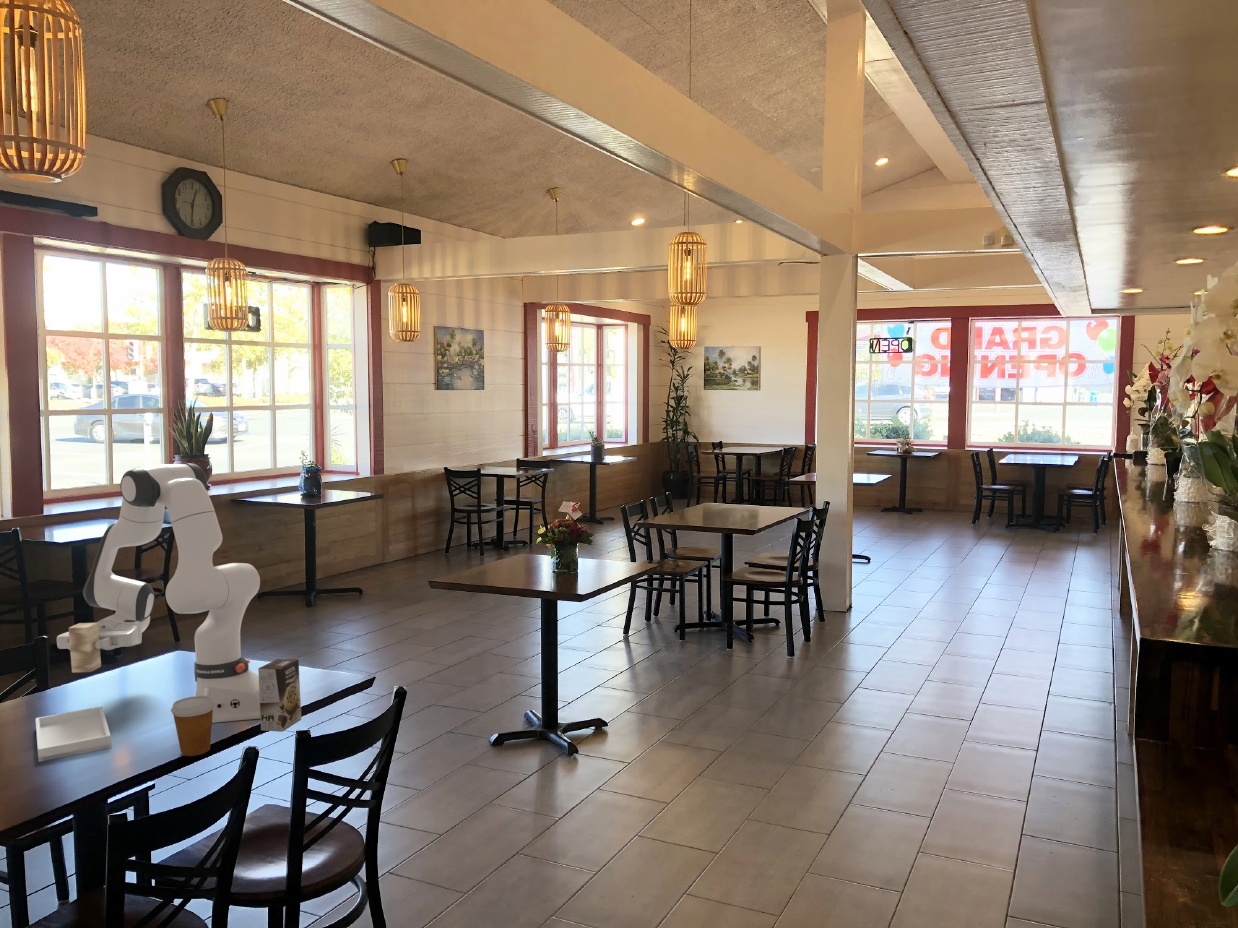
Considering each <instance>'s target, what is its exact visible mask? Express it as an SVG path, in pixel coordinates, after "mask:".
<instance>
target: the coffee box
mask: <svg viewBox="0 0 1238 928" xmlns="http://www.w3.org/2000/svg"><path fill="white" fill-rule="evenodd" d="M257 671H258V676H259V695H260V717H261V718H260V730H261V731H266V732H278V733H282V732H285V731H286V730H287V729H289V728H291V727H292V726H294V725H295V724H297V723H299V722H300V721H302V705H301V702H302V701H301V686H300V685H301V683H300V665H299V659H296V658H277V659H275V660H272V661H271V662H268V663H266V664H264V665H262V666H261V667H258V669H257Z"/></svg>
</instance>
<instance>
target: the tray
mask: <svg viewBox="0 0 1238 928" xmlns="http://www.w3.org/2000/svg"><path fill="white" fill-rule="evenodd" d="M35 728H36V743H37V744H36V745H37V746H36V747H37V756H38V762H39V763H41V762H46V761H51V759H52V760H57V759H60V758H66V757H73V756H75V755H80V754H86V753H91V752H96V751H102V750H106V749H110V748H112V738H111V732H110V728H109V725H108V721H107V719H106V715H105V711H104V708H103V706H96V707H91V708H84V709H79V710H73V711H67V712H62V713H61V712H60V713H57V714H52V715H51V714H50V715H45V716H39V717H36V718H35Z"/></svg>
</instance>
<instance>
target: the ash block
mask: <svg viewBox="0 0 1238 928" xmlns="http://www.w3.org/2000/svg"><path fill="white" fill-rule="evenodd" d="M68 632H69V640H70V650H69V653H70V664H71V673H73V674H75V673H92V672H93V671H96V670H97V669H99V668H101V667H102V660H101V659H102V658H101V648H99V649H93V645H92V644H93V642H95V641H99V631H98V623H97V622H79V623H77V624H74V625H72V626H70V627H68Z"/></svg>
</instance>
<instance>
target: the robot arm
mask: <svg viewBox="0 0 1238 928" xmlns="http://www.w3.org/2000/svg"><path fill="white" fill-rule="evenodd" d="M119 485H120V486H119V487H120V494H121V496H122V500H121V506H120V511H119V512H120V513H119V517H118V520H117V521H116V522H115V523H111V524H110V525H108V527H107V528H106V530H105V532H104V534H103V536H102V538H101V541H100V543H99V546H98V549H97V552H96V556H95V558H94V562H93V565H92V568H91V570H90V573H89V575H88V578H87V580H86V582H85V584H84V587H83V591H82V595H83V596H82V597H83V598H84V600H85V601H86V603H87V605H89V606H91V607H95V608H101V609H108V610H112V611H115V613H113V614H111V615H109V616H107V617H105V618H102V619H100V620H98V621H97V622H96V623H98V631H99V641H95V642H93V644H92V645H93V649H99V648H100V650H105V651H111V650H115V649H117V648H118V649H119V648H121V647H122V648H123V647H125V648H126V647H127V648H128V647H133V646H136V645H137V646H138V645H140V644H142V637H143V632H145V630H147V628H148V627H149V625H150V622H151V614H152V613H153V610H154V607H155V602H156V595H155V591H154V589H153V586H152V585H151V584H150V583H148V582H145V581H140V580H136V579H133V578H132V579H131V578H129V577H124V576H119V575H117V574H115V573H114V572H113V571H112V569H113V565H114V564H115V559H116V557H117V553H118V550H119V549H120V548H125V547H137V546H142V545H145V544H148V543H150V542H152V541H154V540H155V539H157V538H158V536H160V534H161V532H162V530H163V529H162V528H163V525H164V519H165V518H164V517H165V509H167V511H168V516H169V519H170V525H171V526H172V530H173V534H174V538H175V542H176V546H177V552H178V560H177V567H176V569H175V572H174V575H173V576H172V577H171V579H170V580H169V581H168V583H167V585H166V588H165V599H166V603H167V605H168V606H169V608H170V609H171V610H172V611H173V612H174V613H176V614H179V615H180V614H181V615H183V614H186V615H187V614H188V615H189V614H190V615H191V614H199V613H200V614H201V613H203V612H208V611H209V612H208V615H207V616H206V619H205V620H204V621H203V623H202V624H200V625H199V627H198V628H196V630H195V633H194V649H195V662H194V663H193V665H194V666H193V667H194V670H193V671H194V679H195V682H196V687H195V688H196V689H195V696H208V697H211V698H212V699H213V702H214V703H215V706H214V708H213V715H212V724H214V723H222V722H223V723H224V722H235V721H246V720H256V719H257V720H258V719H261V717H260V695H259V674H256V673H255V672H253V671H251V669H249V667H250V666H249V663H251V658H250V657H248V658H247V659H246V658H245V657H243V656H242V654H241V653H242V652H241V651H242V649H241V630H242V629H241V627H242V622H243V618H244V616H245V613H246V610H247V608H248V606H249V604H250V602H251V600H252V599H253V598H254V597H255V596H256V595H257V594H258V593H259V590H260V585H261V578H260V574H259V572H258V570H257V569H256V567H254V565H252V564H250V563H246V562H231V563H226V564H221V565H216V566H215V565H214V562H213V557H214V553H215V552H216V551H217V550H218V549H219V548H220V547H221V545H222V543H223V538H224V537H223V534H222V529H221V527H220V524H219V520H218V517H217V514H216V511H215V507H214V505H213V502H212V500H211V497H210V496H209V493H208V491H207V485H208V484H207V476H206V474H205V471H204V470H203V468H202V467H201V466H200V465H198V464H196V463H190V462H189V463H188V462H182V463H166V464H165V463H161V464H160V463H159V464H153V465H152V464H151V465H148V466H144V467H141V466H140V467H134V468H133V469H129V470H128V471H125V473H124V474H123V475H122V477H121V480H120V484H119ZM56 645H57V648H58V650H59V649H60V650H62V649H63V650H65V649H68V651H70V640H69V631H66V632H63V633H61V634H59V635H57V636H56Z"/></svg>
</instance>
